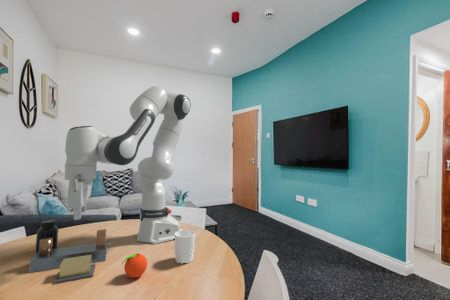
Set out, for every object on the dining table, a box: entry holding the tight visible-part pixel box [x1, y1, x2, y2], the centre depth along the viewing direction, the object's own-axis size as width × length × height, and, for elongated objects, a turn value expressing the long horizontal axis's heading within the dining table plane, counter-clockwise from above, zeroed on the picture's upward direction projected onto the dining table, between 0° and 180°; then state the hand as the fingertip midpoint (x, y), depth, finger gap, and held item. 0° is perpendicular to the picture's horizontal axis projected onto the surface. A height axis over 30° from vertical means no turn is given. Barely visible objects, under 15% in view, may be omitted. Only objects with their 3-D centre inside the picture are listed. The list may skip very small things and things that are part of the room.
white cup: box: [174, 229, 196, 265], centre depth 82 cm, size 8×8×10 cm
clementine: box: [121, 253, 148, 279], centre depth 70 cm, size 8×7×7 cm
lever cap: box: [58, 255, 93, 279], centre depth 71 cm, size 8×5×4 cm, turn 116°
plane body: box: [29, 228, 108, 273], centre depth 79 cm, size 22×8×10 cm, turn 116°
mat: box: [53, 263, 96, 285], centre depth 71 cm, size 10×8×1 cm
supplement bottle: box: [34, 219, 59, 254], centre depth 87 cm, size 7×7×12 cm
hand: (80, 215), depth 72 cm, fingers open, 8 cm apart
